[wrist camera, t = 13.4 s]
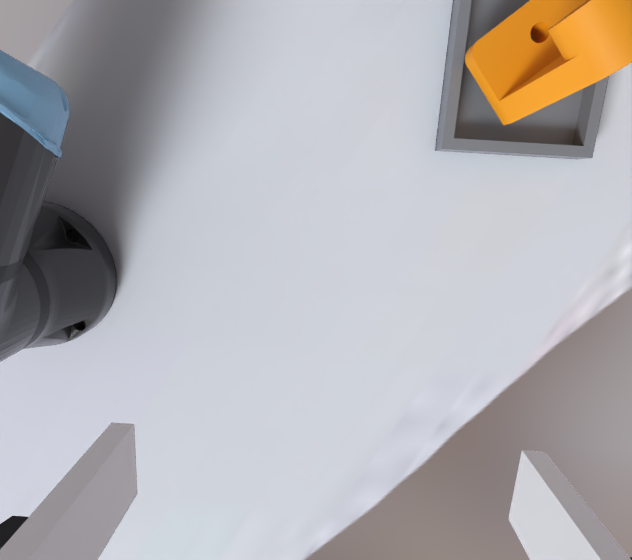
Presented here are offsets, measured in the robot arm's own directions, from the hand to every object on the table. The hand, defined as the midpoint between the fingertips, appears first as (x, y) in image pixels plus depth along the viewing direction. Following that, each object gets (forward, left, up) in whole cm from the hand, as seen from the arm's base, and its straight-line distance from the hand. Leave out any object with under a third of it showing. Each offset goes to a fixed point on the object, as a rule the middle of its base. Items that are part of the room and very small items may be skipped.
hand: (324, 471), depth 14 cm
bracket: (+17, +22, -29) cm, 40 cm away
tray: (+17, +22, -32) cm, 42 cm away
